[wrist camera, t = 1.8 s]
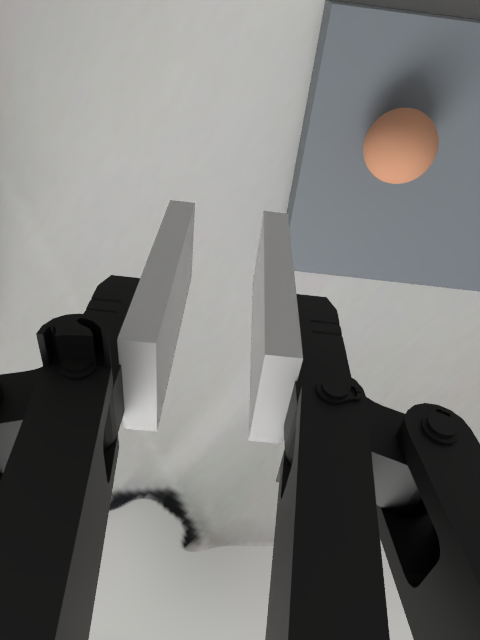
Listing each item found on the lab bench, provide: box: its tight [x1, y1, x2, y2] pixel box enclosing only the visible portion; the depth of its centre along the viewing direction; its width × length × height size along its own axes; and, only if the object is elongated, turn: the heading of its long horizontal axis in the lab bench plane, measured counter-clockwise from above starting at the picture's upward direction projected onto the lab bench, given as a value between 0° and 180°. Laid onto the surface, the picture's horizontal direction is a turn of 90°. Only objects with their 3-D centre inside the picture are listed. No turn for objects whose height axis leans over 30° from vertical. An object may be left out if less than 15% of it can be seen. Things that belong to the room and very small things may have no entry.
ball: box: [363, 108, 439, 184], centre depth 26 cm, size 4×4×4 cm
